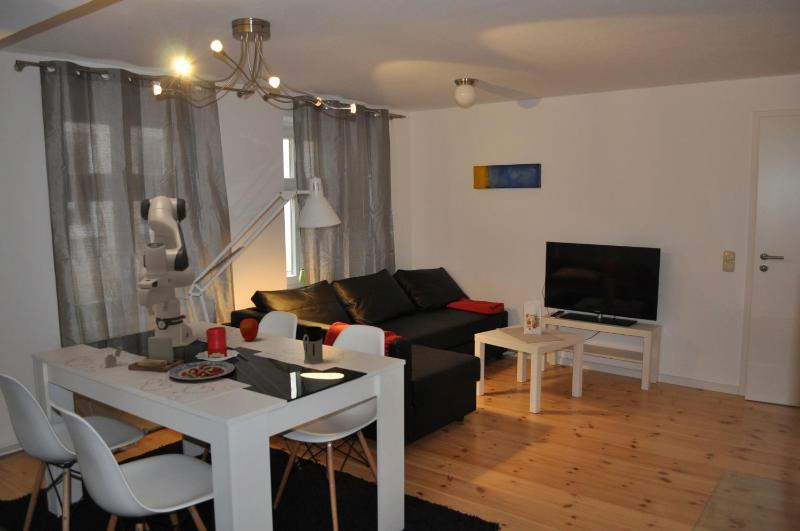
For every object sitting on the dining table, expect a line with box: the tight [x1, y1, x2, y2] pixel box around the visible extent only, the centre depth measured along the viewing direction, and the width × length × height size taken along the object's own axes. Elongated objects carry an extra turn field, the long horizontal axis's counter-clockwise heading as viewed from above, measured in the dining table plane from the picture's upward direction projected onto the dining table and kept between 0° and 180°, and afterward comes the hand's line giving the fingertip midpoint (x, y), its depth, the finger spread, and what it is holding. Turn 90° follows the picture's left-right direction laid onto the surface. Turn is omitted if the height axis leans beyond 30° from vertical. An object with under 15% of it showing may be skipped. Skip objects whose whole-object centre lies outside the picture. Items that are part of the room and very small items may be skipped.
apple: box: [239, 318, 260, 342], centre depth 313 cm, size 9×9×12 cm
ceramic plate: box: [167, 360, 235, 381], centre depth 256 cm, size 26×26×3 cm
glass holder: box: [302, 325, 325, 365], centre depth 270 cm, size 9×14×15 cm, turn 164°
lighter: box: [104, 346, 123, 369], centre depth 269 cm, size 7×2×8 cm, turn 137°
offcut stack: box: [136, 358, 167, 367], centre depth 264 cm, size 5×12×4 cm, turn 78°
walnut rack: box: [127, 357, 185, 373], centre depth 267 cm, size 13×18×2 cm
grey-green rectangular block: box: [147, 336, 174, 363], centre depth 269 cm, size 3×10×12 cm, turn 75°
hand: (158, 313), depth 267 cm, fingers open, 8 cm apart
